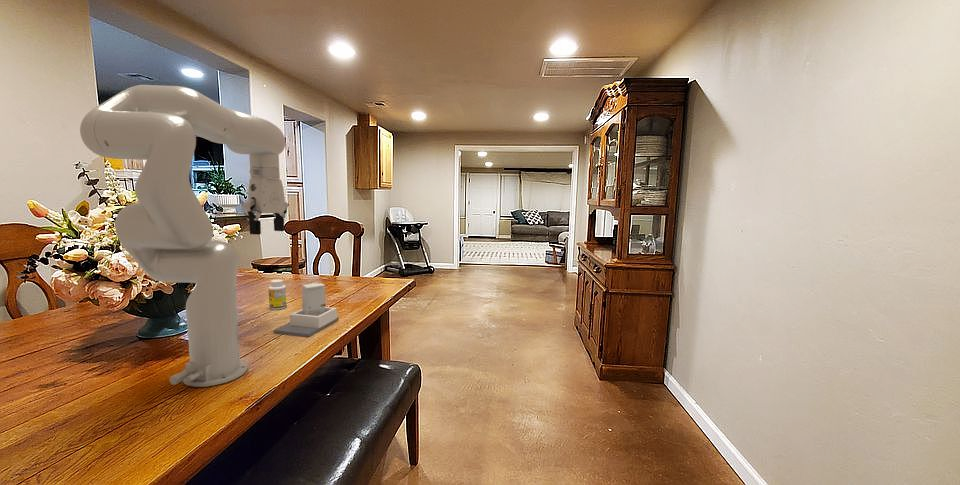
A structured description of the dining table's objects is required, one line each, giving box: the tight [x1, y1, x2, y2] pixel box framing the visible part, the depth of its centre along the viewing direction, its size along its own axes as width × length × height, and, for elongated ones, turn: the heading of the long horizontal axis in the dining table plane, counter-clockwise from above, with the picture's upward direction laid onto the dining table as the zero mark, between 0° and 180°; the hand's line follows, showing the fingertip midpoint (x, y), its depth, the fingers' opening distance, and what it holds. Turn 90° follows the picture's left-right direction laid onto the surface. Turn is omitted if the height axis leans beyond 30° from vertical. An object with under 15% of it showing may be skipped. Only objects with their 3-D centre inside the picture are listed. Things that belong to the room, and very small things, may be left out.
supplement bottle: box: [268, 279, 287, 311], centre depth 142 cm, size 6×6×10 cm
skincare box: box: [301, 282, 326, 316], centre depth 126 cm, size 6×4×12 cm
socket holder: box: [272, 306, 340, 338], centre depth 124 cm, size 16×12×4 cm
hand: (267, 232), depth 116 cm, fingers open, 9 cm apart
